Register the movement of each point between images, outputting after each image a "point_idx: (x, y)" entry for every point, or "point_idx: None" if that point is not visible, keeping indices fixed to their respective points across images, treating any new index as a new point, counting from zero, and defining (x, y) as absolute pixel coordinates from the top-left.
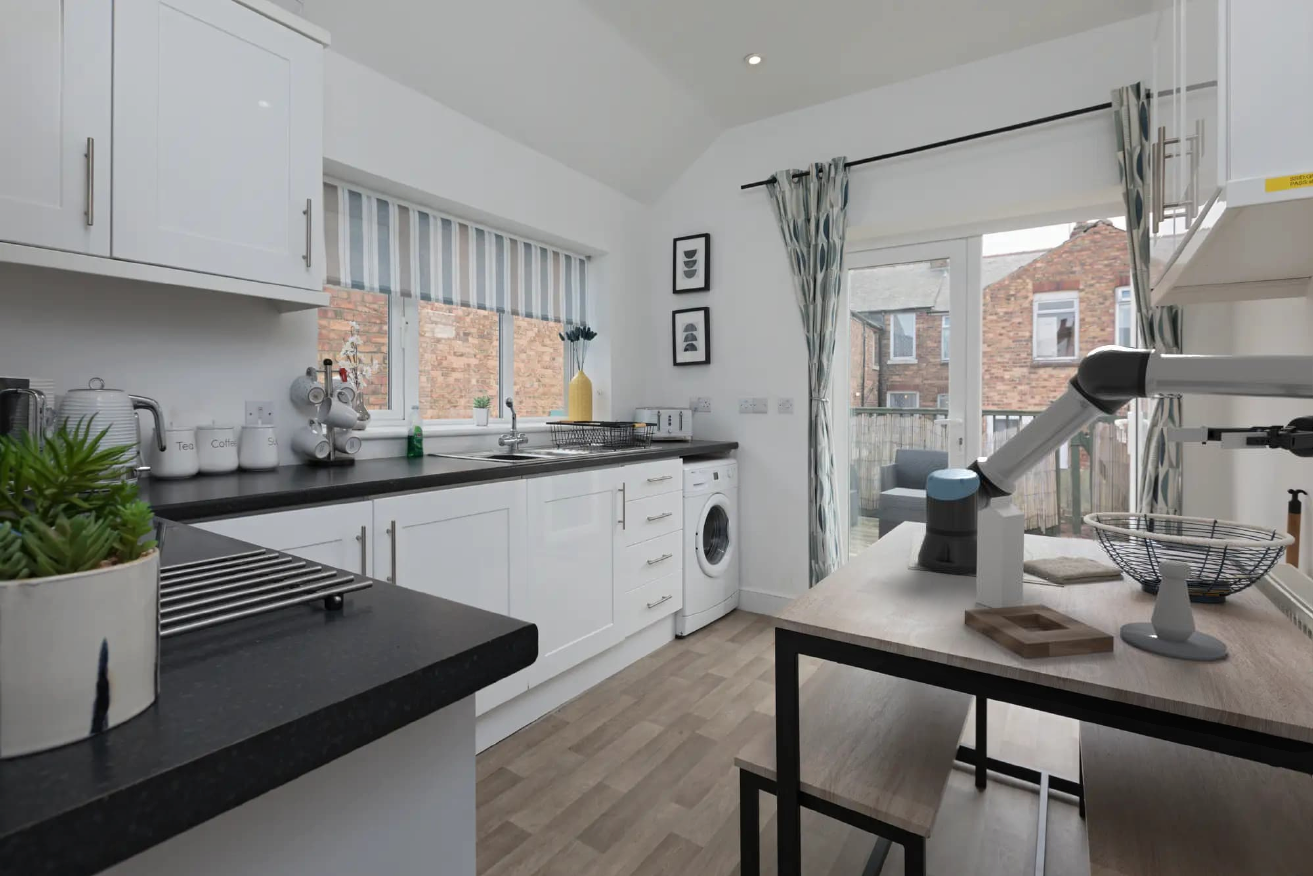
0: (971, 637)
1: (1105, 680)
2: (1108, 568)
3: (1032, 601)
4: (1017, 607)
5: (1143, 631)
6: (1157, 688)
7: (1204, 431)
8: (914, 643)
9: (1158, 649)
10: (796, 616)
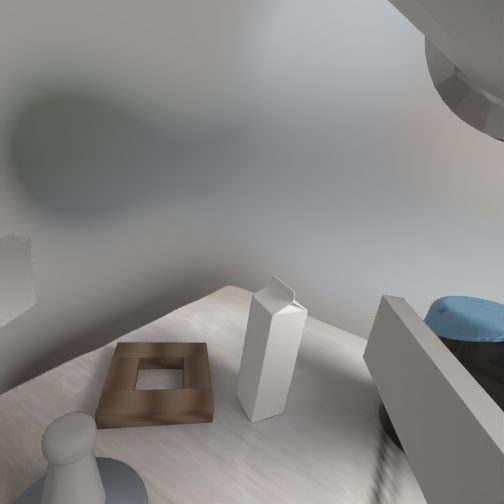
0: None
1: (50, 379)
2: None
3: (274, 447)
4: (207, 381)
5: (113, 496)
6: (7, 405)
7: (475, 467)
8: (171, 314)
9: None
10: (232, 288)
